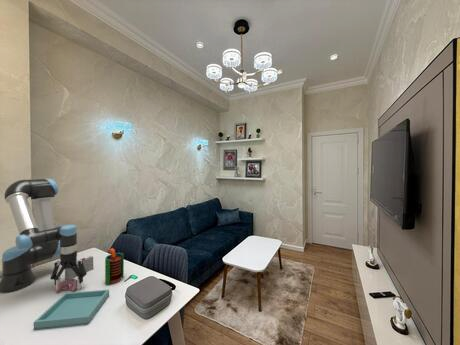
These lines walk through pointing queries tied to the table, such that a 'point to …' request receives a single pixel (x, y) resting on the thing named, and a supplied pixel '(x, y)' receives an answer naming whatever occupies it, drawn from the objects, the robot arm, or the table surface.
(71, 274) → the cassette player
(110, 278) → the motor
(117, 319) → the table surface
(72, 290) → the video game controller
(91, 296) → the tray
